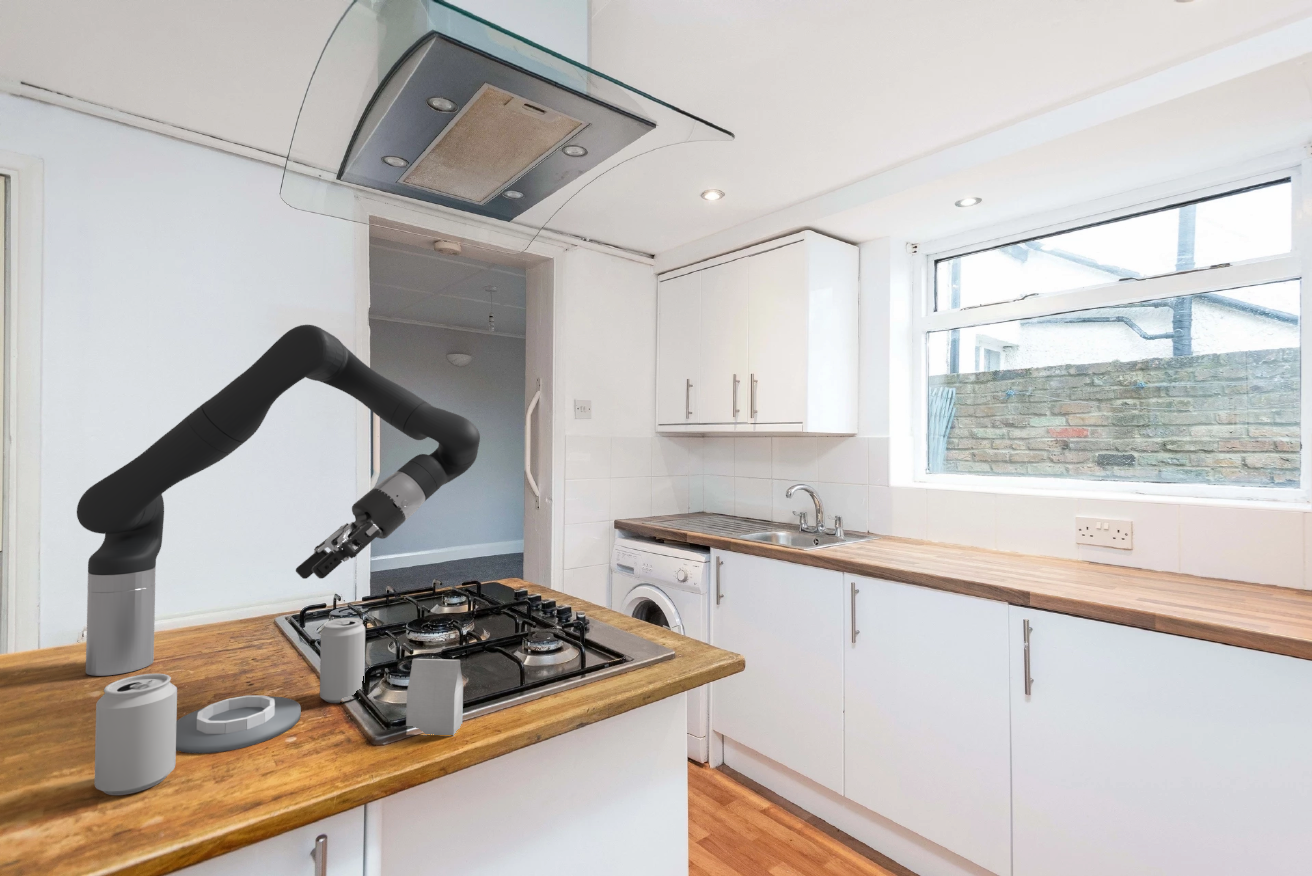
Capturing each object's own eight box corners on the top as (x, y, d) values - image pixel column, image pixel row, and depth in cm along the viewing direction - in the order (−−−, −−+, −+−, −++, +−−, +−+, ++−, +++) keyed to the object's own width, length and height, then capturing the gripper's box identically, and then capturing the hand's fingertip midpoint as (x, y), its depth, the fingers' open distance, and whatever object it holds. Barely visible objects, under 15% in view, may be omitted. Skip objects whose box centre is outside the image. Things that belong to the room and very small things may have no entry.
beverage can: (346, 706, 98) (347, 628, 98) (309, 702, 99) (311, 625, 99) (372, 691, 104) (374, 617, 104) (338, 687, 105) (339, 615, 105)
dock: (172, 716, 93) (173, 699, 93) (297, 695, 102) (298, 679, 102) (158, 764, 80) (159, 744, 80) (304, 735, 88) (304, 717, 88)
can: (126, 766, 79) (128, 670, 79) (189, 764, 80) (191, 669, 80) (76, 800, 72) (79, 694, 72) (146, 798, 72) (149, 693, 73)
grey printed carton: (453, 736, 89) (455, 664, 89) (405, 734, 89) (407, 663, 89) (462, 724, 93) (463, 656, 93) (416, 723, 93) (417, 654, 93)
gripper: (359, 491, 110) (277, 558, 100) (391, 482, 100) (303, 555, 90) (388, 523, 113) (310, 591, 102) (422, 517, 102) (339, 592, 92)
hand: (307, 574), depth 96 cm, fingers open, 8 cm apart
